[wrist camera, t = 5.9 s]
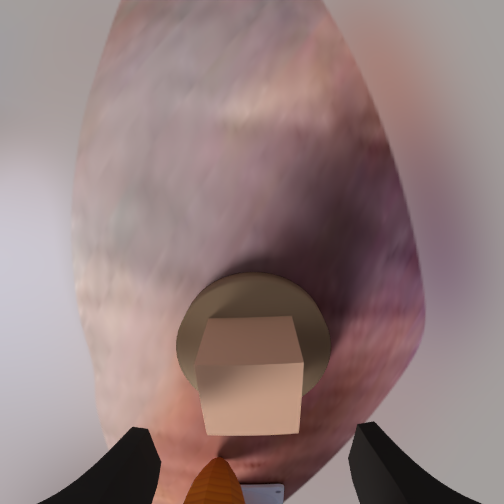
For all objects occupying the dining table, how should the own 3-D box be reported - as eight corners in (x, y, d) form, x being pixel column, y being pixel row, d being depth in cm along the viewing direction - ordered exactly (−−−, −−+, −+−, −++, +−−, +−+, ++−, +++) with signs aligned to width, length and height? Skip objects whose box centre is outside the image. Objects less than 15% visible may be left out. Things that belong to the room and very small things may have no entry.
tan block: (290, 380, 15) (298, 433, 11) (216, 382, 15) (207, 434, 11) (291, 315, 14) (303, 362, 10) (208, 318, 14) (193, 364, 10)
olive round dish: (318, 386, 18) (324, 406, 16) (193, 390, 18) (188, 410, 16) (326, 266, 16) (335, 278, 14) (175, 272, 16) (165, 284, 14)
